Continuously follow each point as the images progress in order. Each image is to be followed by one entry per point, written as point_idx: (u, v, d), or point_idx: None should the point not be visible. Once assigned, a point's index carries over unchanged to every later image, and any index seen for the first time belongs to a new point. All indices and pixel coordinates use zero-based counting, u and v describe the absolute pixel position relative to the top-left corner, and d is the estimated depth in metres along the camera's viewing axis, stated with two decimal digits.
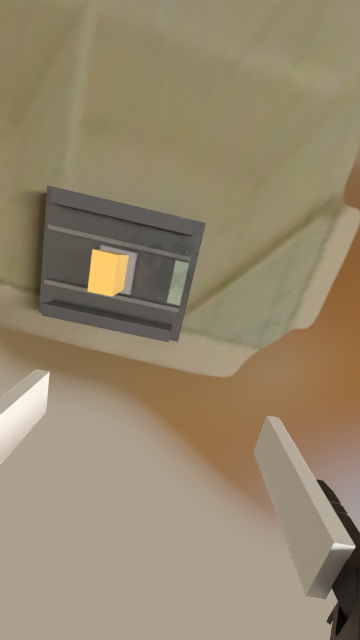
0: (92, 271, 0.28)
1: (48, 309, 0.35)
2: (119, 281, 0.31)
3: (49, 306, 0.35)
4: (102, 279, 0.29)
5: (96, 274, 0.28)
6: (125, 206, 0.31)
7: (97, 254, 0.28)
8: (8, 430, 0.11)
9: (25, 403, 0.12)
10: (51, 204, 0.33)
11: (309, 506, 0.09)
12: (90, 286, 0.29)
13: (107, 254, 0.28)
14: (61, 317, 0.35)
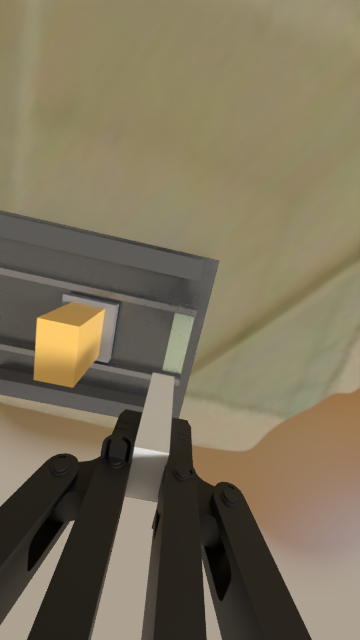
0: (39, 351, 0.17)
1: None
2: (88, 354, 0.20)
3: None
4: (55, 362, 0.18)
5: (46, 355, 0.18)
6: (97, 239, 0.20)
7: (45, 326, 0.17)
8: None
9: None
10: None
11: None
12: (37, 372, 0.18)
13: (62, 325, 0.17)
14: (10, 393, 0.24)
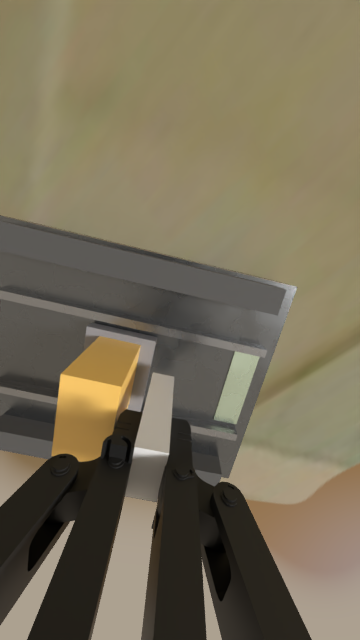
0: (61, 418, 0.12)
1: None
2: None
3: None
4: (84, 433, 0.12)
5: (71, 424, 0.12)
6: (146, 259, 0.15)
7: (72, 386, 0.12)
8: None
9: None
10: None
11: None
12: (57, 446, 0.13)
13: (96, 385, 0.12)
14: (22, 451, 0.19)
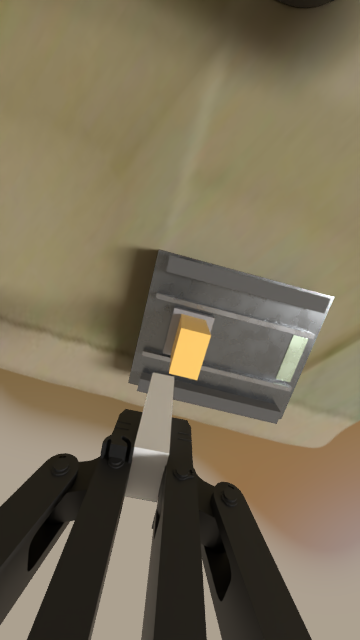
0: (177, 352, 0.24)
1: (145, 385, 0.31)
2: None
3: (147, 382, 0.30)
4: (188, 361, 0.24)
5: (182, 355, 0.24)
6: (252, 280, 0.27)
7: (186, 334, 0.23)
8: None
9: None
10: (160, 269, 0.28)
11: None
12: (172, 367, 0.24)
13: (198, 334, 0.23)
14: None
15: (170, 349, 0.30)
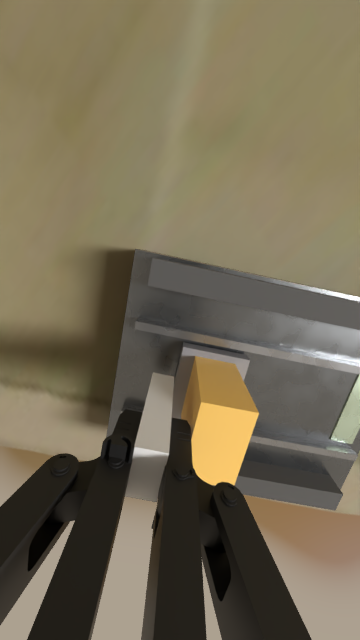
0: (196, 443, 0.13)
1: None
2: None
3: None
4: (215, 458, 0.13)
5: (205, 449, 0.13)
6: (297, 292, 0.16)
7: (210, 413, 0.12)
8: None
9: None
10: (140, 281, 0.17)
11: None
12: None
13: (234, 411, 0.12)
14: None
15: (179, 410, 0.19)
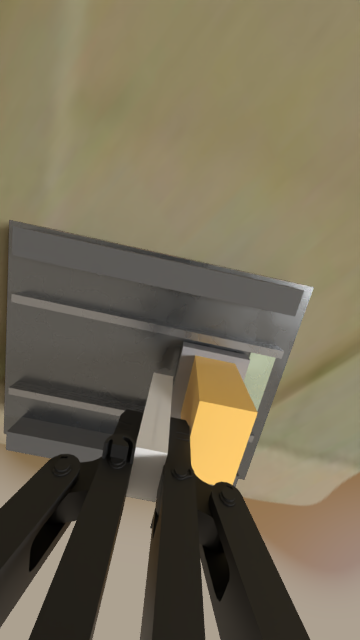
0: (194, 442, 0.13)
1: (17, 441, 0.19)
2: None
3: (18, 436, 0.19)
4: (214, 457, 0.13)
5: (203, 448, 0.13)
6: (164, 263, 0.15)
7: (209, 412, 0.12)
8: None
9: None
10: None
11: None
12: None
13: (233, 411, 0.12)
14: (41, 453, 0.19)
15: (179, 410, 0.19)
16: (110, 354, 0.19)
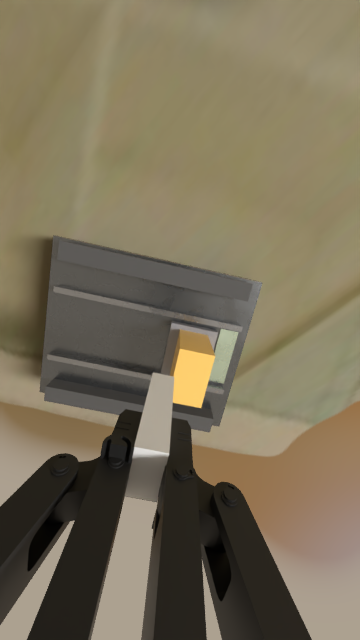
0: (177, 376, 0.20)
1: (52, 393, 0.26)
2: None
3: (54, 389, 0.26)
4: (189, 386, 0.20)
5: (182, 380, 0.20)
6: (159, 265, 0.23)
7: (185, 356, 0.20)
8: None
9: None
10: None
11: None
12: None
13: (200, 355, 0.20)
14: (69, 403, 0.27)
15: (169, 369, 0.26)
16: (121, 330, 0.27)
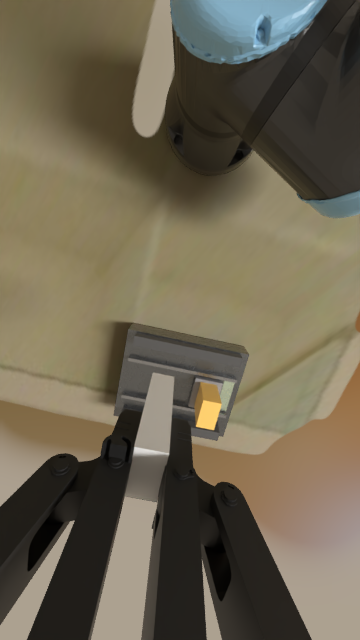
0: (201, 414, 0.38)
1: None
2: None
3: None
4: (208, 419, 0.38)
5: (204, 415, 0.38)
6: (190, 348, 0.41)
7: (206, 403, 0.38)
8: None
9: None
10: (130, 341, 0.43)
11: None
12: (198, 423, 0.39)
13: (214, 403, 0.38)
14: None
15: (193, 404, 0.44)
16: None
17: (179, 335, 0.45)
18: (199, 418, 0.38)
